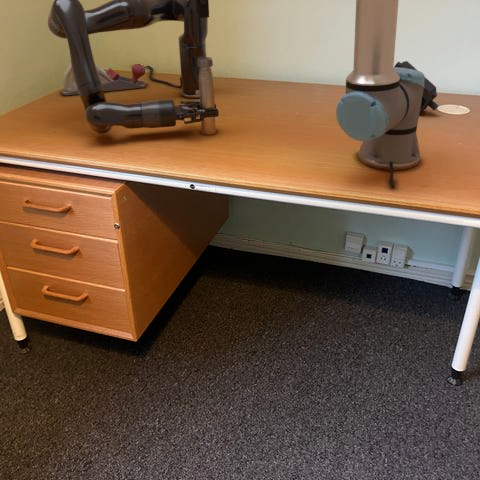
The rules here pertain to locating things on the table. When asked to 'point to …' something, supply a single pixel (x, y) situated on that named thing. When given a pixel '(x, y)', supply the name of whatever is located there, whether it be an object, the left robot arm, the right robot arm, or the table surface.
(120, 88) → the hand plane
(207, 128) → the bottle
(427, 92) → the tool
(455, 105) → the table surface
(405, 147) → the right robot arm
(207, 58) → the cap
